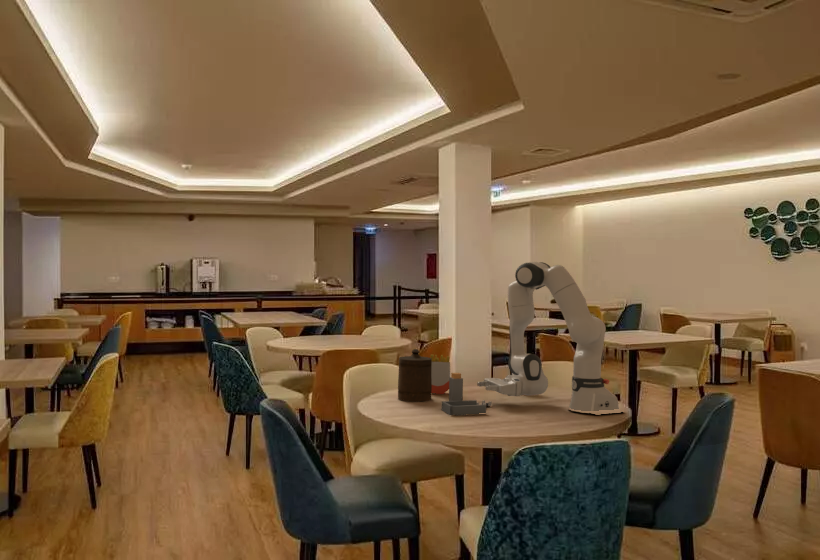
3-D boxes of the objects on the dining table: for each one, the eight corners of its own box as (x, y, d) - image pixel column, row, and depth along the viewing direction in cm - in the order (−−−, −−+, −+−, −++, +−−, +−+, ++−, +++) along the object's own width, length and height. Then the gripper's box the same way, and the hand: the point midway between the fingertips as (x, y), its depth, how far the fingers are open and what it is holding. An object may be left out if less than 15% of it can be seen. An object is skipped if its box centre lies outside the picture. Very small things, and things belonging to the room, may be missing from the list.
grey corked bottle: (458, 405, 293) (459, 372, 293) (462, 407, 288) (463, 373, 288) (448, 405, 291) (449, 372, 291) (452, 407, 287) (453, 374, 287)
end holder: (475, 408, 286) (475, 400, 285) (486, 414, 275) (486, 405, 275) (441, 410, 281) (441, 401, 281) (450, 415, 271) (450, 406, 271)
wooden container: (417, 394, 316) (418, 346, 316) (438, 400, 304) (439, 350, 304) (391, 397, 307) (392, 348, 307) (411, 403, 295) (412, 351, 295)
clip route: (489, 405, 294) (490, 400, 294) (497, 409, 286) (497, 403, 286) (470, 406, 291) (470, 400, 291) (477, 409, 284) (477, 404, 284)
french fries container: (427, 391, 325) (427, 353, 324) (450, 392, 323) (450, 354, 323) (425, 393, 320) (426, 354, 320) (448, 394, 318) (449, 355, 318)
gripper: (502, 374, 307) (473, 374, 303) (522, 382, 288) (491, 382, 284) (501, 388, 307) (472, 389, 303) (521, 397, 288) (491, 397, 284)
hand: (481, 386), depth 293 cm, fingers open, 8 cm apart
